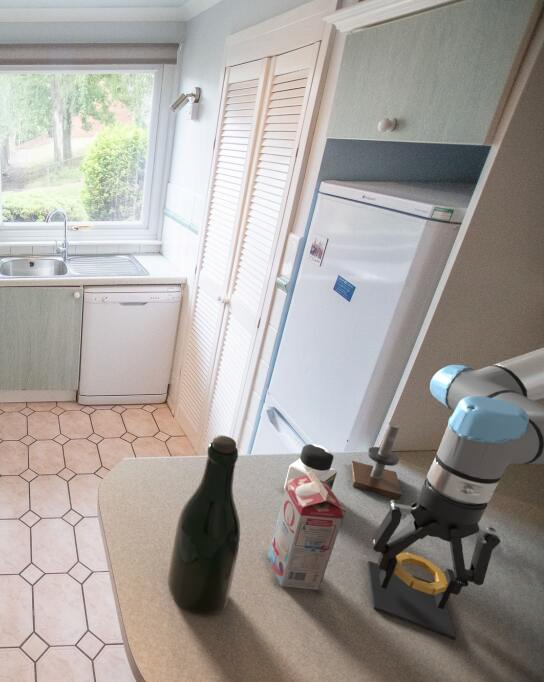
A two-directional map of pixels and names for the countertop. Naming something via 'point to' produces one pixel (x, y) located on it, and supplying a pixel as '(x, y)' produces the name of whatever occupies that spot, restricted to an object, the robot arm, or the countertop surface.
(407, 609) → the rubber mat
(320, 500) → the juice carton
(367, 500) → the countertop surface
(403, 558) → the brass ring
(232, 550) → the green wine bottle
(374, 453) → the peg stand
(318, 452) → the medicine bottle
